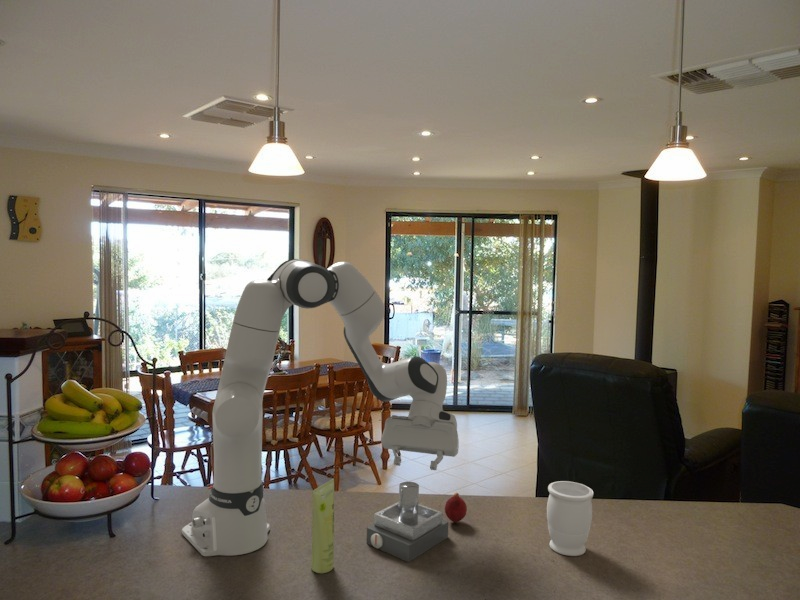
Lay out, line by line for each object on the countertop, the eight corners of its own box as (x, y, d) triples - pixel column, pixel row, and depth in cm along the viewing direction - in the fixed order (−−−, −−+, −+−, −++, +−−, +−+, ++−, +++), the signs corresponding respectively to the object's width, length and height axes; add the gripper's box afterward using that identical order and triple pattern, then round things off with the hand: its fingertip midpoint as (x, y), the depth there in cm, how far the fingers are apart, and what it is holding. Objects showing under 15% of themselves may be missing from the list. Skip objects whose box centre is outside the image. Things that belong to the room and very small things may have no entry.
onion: (465, 528, 151) (466, 499, 151) (443, 526, 152) (444, 496, 152) (467, 519, 157) (468, 490, 156) (445, 516, 158) (446, 487, 157)
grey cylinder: (394, 521, 144) (395, 485, 143) (406, 514, 147) (407, 480, 147) (409, 527, 141) (410, 491, 140) (421, 520, 144) (422, 485, 144)
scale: (364, 544, 141) (364, 528, 141) (406, 521, 155) (407, 506, 154) (406, 563, 133) (407, 546, 133) (447, 537, 146) (448, 521, 146)
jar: (592, 544, 145) (595, 485, 144) (587, 563, 136) (590, 501, 135) (549, 534, 150) (552, 477, 148) (541, 552, 140) (544, 491, 139)
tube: (335, 574, 128) (336, 488, 127) (311, 576, 127) (313, 489, 125) (332, 561, 134) (333, 478, 132) (309, 563, 132) (311, 479, 131)
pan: (373, 524, 143) (374, 513, 143) (404, 509, 152) (404, 498, 152) (412, 540, 136) (413, 529, 135) (442, 523, 145) (442, 512, 145)
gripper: (385, 408, 156) (373, 456, 148) (460, 416, 151) (453, 466, 143) (389, 420, 161) (377, 467, 152) (462, 428, 156) (455, 477, 147)
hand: (414, 466), depth 147 cm, fingers open, 8 cm apart
